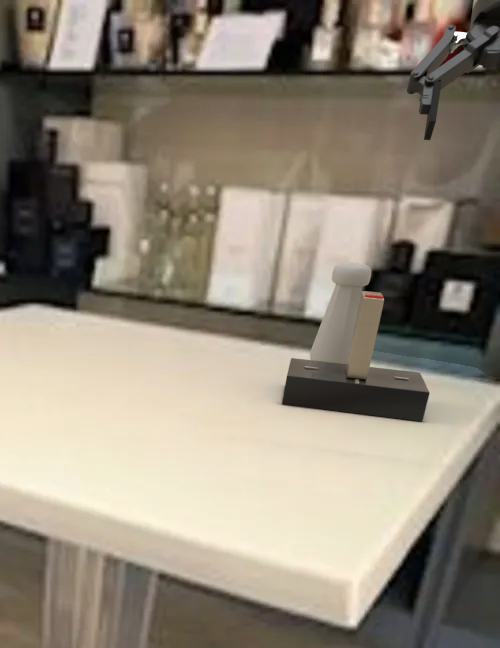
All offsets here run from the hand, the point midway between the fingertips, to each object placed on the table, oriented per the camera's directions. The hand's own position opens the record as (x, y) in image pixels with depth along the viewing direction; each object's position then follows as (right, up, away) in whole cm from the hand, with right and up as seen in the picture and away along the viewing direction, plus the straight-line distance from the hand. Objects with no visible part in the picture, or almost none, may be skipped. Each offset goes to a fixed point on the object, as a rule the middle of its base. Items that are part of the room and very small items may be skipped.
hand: (489, 134), depth 105 cm
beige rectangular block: (-20, -32, -12) cm, 39 cm away
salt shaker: (-18, -29, +3) cm, 34 cm away
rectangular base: (-20, -34, -10) cm, 41 cm away
